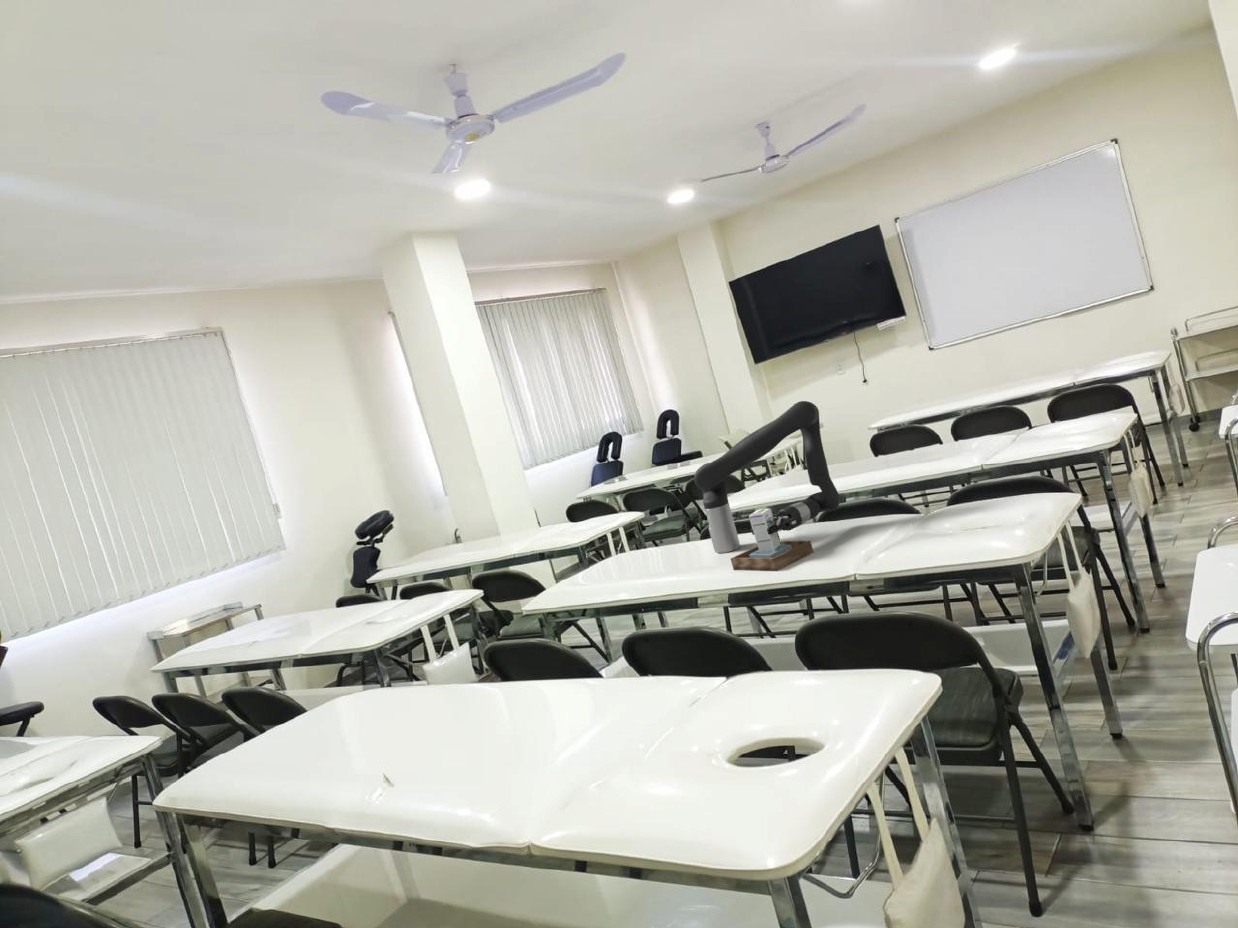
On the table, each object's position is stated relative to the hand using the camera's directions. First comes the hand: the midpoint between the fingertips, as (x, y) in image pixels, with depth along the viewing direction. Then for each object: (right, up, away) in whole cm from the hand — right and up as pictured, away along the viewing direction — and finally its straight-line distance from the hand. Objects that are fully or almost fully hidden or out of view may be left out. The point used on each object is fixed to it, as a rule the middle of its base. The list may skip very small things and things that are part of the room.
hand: (760, 531), depth 268 cm
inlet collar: (+5, -10, +2) cm, 11 cm away
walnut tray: (+5, -10, +2) cm, 11 cm away
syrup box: (+4, -7, +2) cm, 8 cm away
